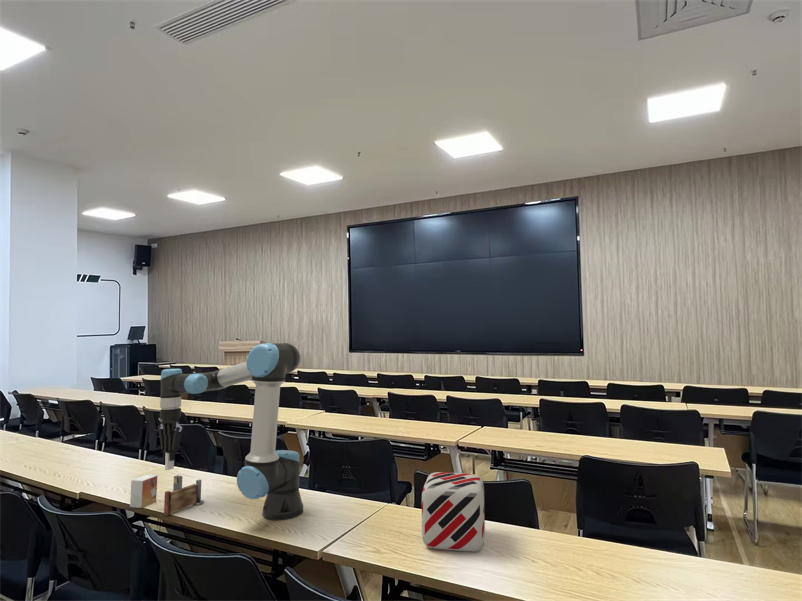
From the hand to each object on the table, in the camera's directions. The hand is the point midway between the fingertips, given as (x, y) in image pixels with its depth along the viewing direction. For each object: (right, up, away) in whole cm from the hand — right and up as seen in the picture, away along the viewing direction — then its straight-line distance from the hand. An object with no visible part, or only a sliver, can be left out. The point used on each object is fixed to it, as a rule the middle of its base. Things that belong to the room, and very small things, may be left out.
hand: (169, 469), depth 180 cm
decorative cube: (+109, -13, -29) cm, 113 cm away
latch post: (-3, -16, +13) cm, 21 cm away
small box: (-13, -16, +4) cm, 21 cm away
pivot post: (+9, -16, +5) cm, 19 cm away
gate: (+6, -15, -2) cm, 16 cm away
